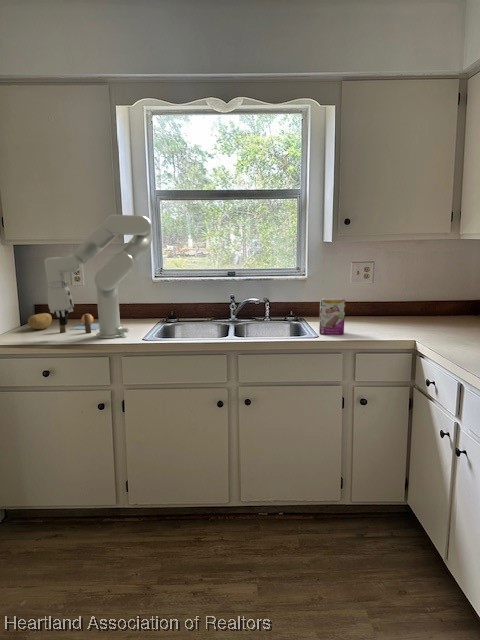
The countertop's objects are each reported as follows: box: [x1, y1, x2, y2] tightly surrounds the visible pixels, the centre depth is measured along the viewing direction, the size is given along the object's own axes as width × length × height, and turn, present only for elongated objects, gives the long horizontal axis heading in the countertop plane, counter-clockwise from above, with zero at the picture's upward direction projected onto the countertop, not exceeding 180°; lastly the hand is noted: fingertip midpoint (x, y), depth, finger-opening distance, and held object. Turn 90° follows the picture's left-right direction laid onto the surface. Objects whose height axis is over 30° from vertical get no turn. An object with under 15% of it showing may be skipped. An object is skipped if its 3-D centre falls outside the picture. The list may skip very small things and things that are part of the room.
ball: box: [80, 314, 94, 325], centre depth 229 cm, size 6×6×6 cm
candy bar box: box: [318, 297, 346, 336], centre depth 202 cm, size 11×5×16 cm, turn 85°
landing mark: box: [69, 322, 99, 331], centre depth 226 cm, size 14×14×1 cm
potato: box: [27, 312, 53, 330], centre depth 221 cm, size 10×14×8 cm
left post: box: [58, 321, 67, 334], centre depth 212 cm, size 3×3×9 cm
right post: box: [83, 313, 92, 334], centre depth 210 cm, size 3×3×9 cm
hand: (64, 324), depth 199 cm, fingers closed
